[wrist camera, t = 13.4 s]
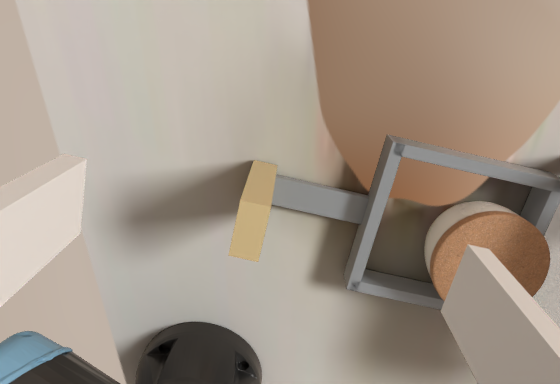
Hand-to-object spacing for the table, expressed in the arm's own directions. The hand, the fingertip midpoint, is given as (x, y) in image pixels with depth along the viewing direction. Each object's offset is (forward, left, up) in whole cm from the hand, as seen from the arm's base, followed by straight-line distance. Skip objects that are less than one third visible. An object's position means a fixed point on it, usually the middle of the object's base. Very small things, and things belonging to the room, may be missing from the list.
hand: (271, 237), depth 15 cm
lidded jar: (-10, -22, -32) cm, 40 cm away
